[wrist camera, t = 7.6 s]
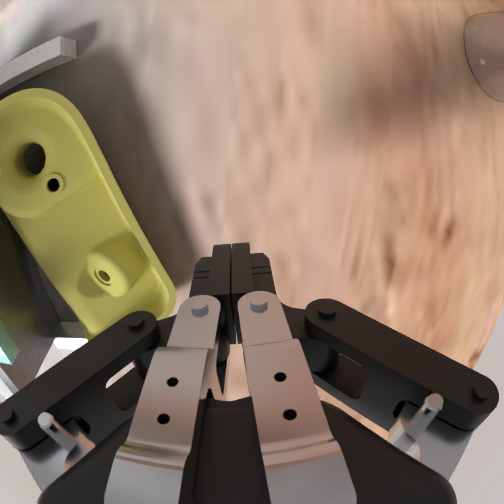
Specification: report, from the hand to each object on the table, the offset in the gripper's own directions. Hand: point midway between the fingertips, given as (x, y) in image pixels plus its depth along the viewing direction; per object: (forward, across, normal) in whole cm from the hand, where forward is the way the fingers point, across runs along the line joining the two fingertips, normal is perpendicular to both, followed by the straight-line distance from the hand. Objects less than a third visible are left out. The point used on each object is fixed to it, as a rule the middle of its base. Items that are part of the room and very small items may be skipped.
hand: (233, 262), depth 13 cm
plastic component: (+9, +12, 0) cm, 15 cm away
